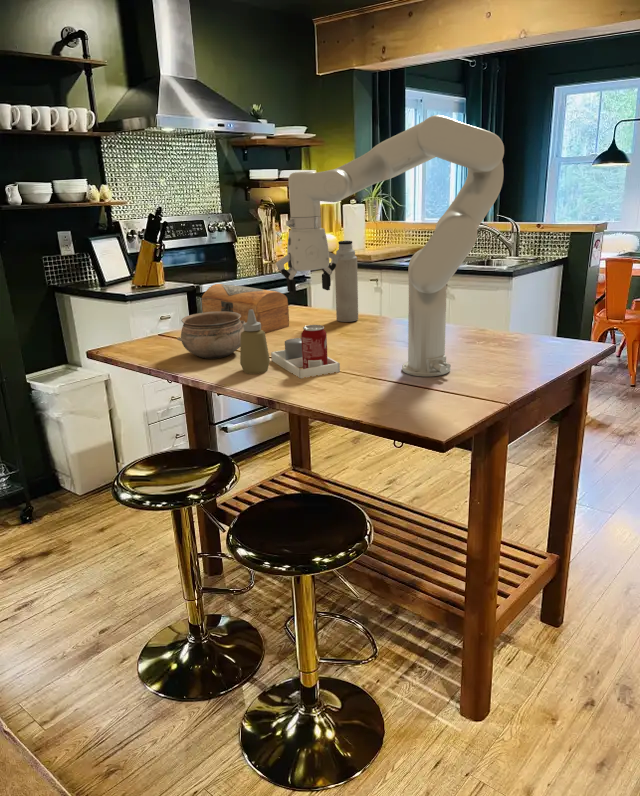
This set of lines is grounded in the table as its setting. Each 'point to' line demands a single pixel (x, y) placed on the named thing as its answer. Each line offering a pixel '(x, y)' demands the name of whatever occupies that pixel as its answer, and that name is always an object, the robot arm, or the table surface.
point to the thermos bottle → (346, 283)
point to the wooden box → (249, 304)
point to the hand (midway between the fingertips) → (309, 291)
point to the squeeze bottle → (253, 347)
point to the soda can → (314, 346)
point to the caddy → (300, 360)
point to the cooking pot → (212, 334)
